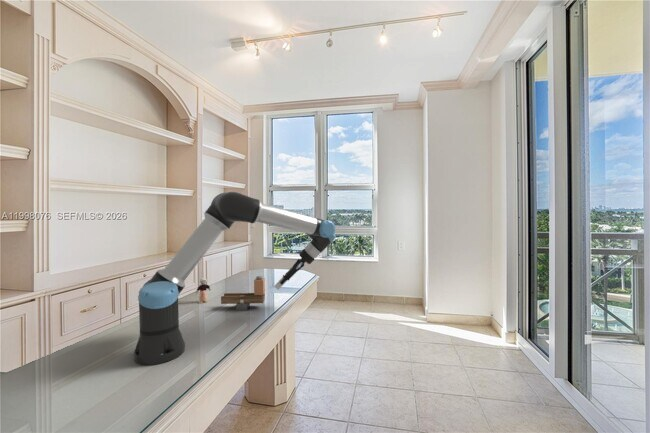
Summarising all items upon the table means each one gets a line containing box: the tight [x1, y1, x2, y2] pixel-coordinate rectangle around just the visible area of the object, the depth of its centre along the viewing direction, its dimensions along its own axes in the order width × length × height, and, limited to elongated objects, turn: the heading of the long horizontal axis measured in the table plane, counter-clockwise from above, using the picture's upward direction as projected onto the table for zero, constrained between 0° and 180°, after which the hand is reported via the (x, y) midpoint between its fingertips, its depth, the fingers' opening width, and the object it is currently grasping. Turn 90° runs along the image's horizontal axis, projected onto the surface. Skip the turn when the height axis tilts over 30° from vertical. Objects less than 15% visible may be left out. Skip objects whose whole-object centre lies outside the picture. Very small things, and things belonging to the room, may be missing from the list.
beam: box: [220, 292, 266, 311], centre depth 149 cm, size 7×20×7 cm, turn 92°
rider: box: [253, 275, 266, 295], centre depth 149 cm, size 4×4×10 cm
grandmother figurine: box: [195, 277, 212, 304], centre depth 159 cm, size 8×4×13 cm, turn 143°
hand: (276, 287), depth 150 cm, fingers closed
